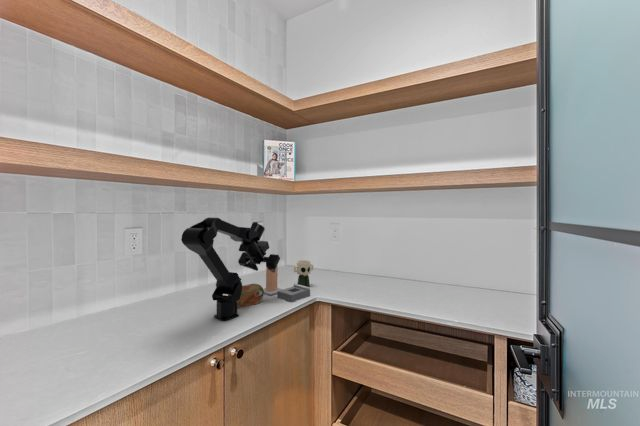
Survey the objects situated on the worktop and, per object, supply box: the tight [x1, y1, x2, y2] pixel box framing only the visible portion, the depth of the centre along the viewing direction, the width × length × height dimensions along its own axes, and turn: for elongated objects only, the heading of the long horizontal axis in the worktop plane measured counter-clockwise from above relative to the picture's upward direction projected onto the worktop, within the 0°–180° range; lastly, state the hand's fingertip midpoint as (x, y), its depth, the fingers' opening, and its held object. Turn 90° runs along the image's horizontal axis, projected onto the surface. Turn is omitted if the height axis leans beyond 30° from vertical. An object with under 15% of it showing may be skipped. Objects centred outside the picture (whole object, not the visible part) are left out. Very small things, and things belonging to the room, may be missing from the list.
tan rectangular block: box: [265, 263, 279, 292], centre depth 131 cm, size 4×4×12 cm
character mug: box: [293, 260, 314, 287], centre depth 141 cm, size 11×7×13 cm, turn 118°
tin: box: [227, 283, 265, 309], centre depth 113 cm, size 15×3×8 cm, turn 129°
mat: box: [263, 287, 284, 297], centre depth 131 cm, size 9×9×1 cm
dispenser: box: [276, 283, 311, 303], centre depth 125 cm, size 12×9×4 cm
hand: (265, 270), depth 126 cm, fingers open, 9 cm apart
